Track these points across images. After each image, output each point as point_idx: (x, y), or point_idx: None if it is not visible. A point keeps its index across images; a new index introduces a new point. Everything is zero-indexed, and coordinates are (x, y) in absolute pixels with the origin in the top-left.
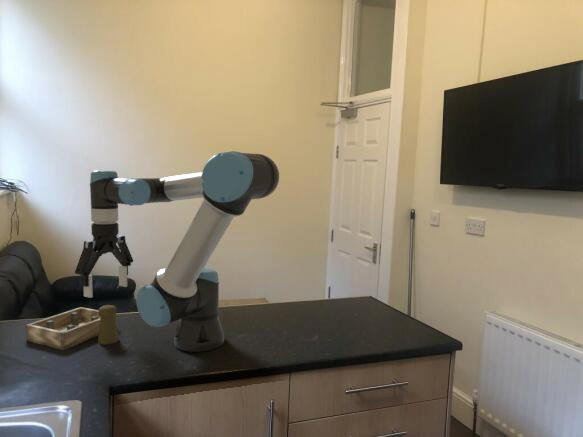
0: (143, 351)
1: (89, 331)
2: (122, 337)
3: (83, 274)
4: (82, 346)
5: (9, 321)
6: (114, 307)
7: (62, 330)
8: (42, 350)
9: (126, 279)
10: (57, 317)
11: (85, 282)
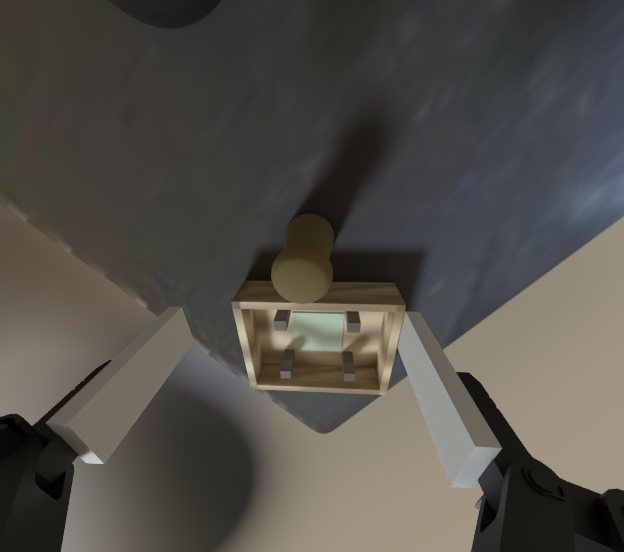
0: (324, 70)
1: None
2: (276, 223)
3: (609, 492)
4: (362, 263)
5: (323, 432)
6: (288, 259)
7: (327, 348)
8: None
9: (145, 334)
10: (316, 384)
11: (493, 402)
